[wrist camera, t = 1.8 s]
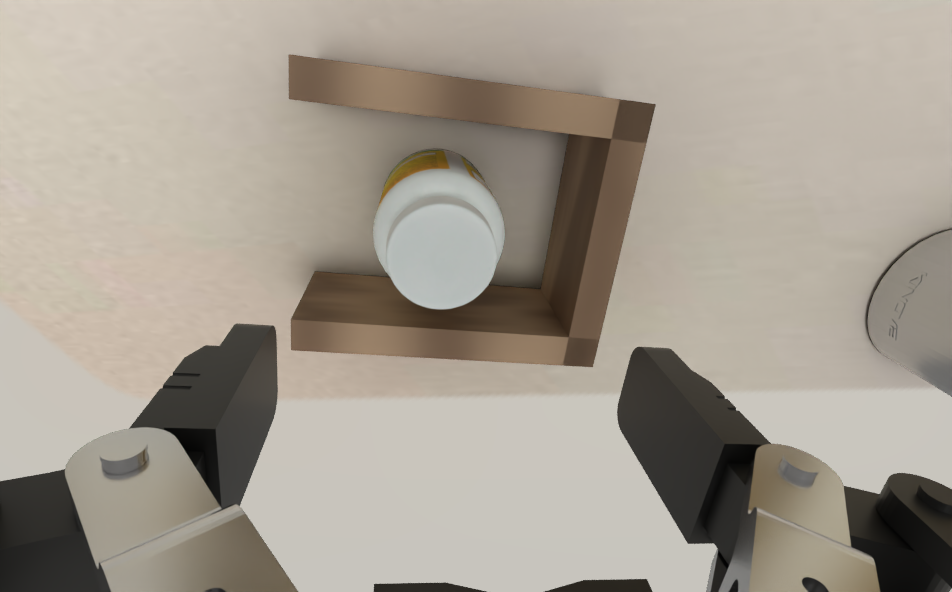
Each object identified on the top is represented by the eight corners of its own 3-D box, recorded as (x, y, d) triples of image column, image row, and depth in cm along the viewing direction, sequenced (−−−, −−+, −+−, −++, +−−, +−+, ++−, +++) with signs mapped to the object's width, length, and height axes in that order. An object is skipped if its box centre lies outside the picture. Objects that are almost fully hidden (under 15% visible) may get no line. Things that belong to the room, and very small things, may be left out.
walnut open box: (605, 97, 26) (655, 104, 21) (560, 314, 31) (592, 366, 25) (317, 58, 24) (288, 54, 19) (314, 297, 29) (291, 349, 23)
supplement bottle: (500, 168, 27) (542, 213, 18) (465, 261, 29) (487, 343, 20) (399, 131, 26) (392, 161, 17) (369, 231, 28) (349, 304, 19)
